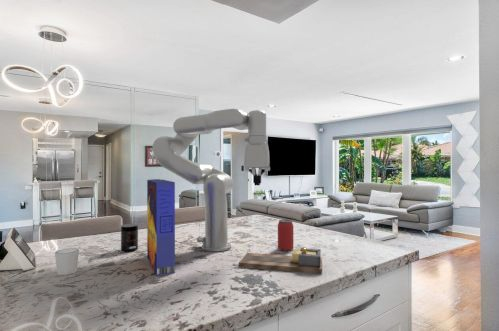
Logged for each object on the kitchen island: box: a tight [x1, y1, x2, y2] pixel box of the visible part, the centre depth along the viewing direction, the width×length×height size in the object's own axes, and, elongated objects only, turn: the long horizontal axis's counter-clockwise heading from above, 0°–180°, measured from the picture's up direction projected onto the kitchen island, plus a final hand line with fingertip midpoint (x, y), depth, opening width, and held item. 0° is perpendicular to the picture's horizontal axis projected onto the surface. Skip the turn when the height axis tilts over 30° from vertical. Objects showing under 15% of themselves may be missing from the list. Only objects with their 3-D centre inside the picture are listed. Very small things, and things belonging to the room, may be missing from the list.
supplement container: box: [120, 223, 139, 253], centre depth 123 cm, size 7×7×10 cm
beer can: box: [277, 219, 294, 252], centre depth 124 cm, size 7×7×12 cm
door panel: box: [238, 252, 323, 275], centre depth 105 cm, size 28×12×2 cm, turn 76°
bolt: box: [291, 247, 316, 263], centre depth 103 cm, size 8×4×5 cm, turn 76°
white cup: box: [54, 247, 80, 276], centre depth 98 cm, size 7×7×7 cm
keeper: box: [299, 247, 322, 267], centre depth 102 cm, size 7×9×4 cm
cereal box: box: [146, 178, 176, 277], centre depth 105 cm, size 22×6×30 cm, turn 26°
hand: (257, 185), depth 122 cm, fingers closed
